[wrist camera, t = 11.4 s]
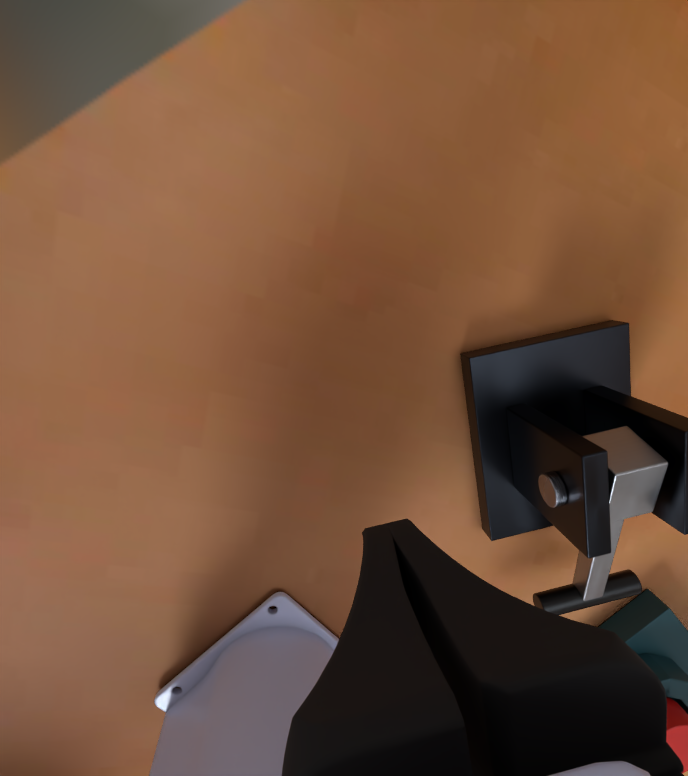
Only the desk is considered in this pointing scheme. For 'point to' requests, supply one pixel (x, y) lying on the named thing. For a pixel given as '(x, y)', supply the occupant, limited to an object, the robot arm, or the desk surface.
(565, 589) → the switch lever
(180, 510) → the desk surface
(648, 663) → the button box
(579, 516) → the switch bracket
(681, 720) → the power button
